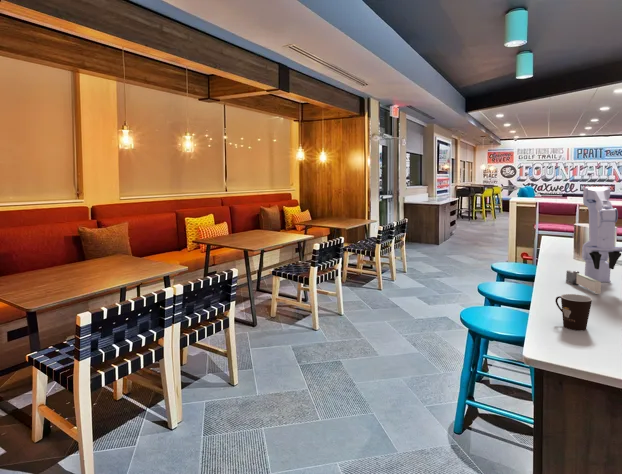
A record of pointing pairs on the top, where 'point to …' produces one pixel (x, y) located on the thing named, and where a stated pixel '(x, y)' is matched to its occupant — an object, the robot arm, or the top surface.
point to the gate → (589, 283)
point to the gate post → (572, 277)
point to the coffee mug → (575, 310)
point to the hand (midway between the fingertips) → (604, 268)
